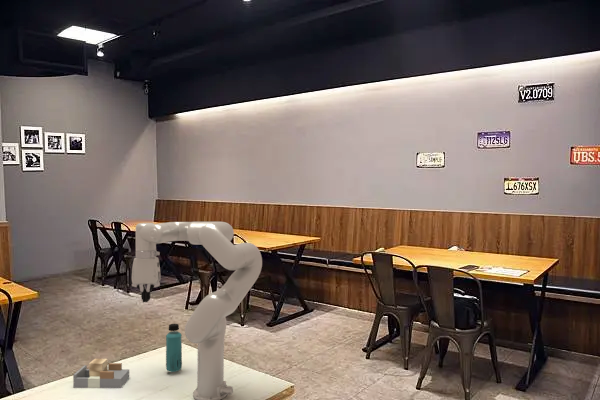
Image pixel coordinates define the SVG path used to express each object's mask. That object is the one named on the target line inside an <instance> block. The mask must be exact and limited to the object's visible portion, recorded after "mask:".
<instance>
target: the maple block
mask: <svg viewBox="0 0 600 400" xmlns="http://www.w3.org/2000/svg"><path fill="white" fill-rule="evenodd" d="M108 360H109V359H108V358H94V359H93V360H91V361H90V362H89V363H88V369H89V376H100V372H101V371H108V364H109V361H108Z"/></svg>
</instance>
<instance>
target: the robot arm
mask: <svg viewBox="0 0 600 400" xmlns="http://www.w3.org/2000/svg"><path fill="white" fill-rule="evenodd" d="M234 232H235V231H234V228H233V226H232V225H231V224H229V223H228V222H225V221H169V222H160V223H153V222H141V223H140V222H139V223H137V224H136V225H135V257H134V258H133V262H132V267H131V287H134V288H137V290H139V291H140V293H141V295H140V296H141V300H142V303H148V302H149V301H150V300H151V291H152V290H153V289H154V288H158V287H160V286H161V282H160V281H161V267H160V259H159V257H157V256H160V253H161V252H160V251H157V244H162V243H168V242H175V241H176V242H178V241H181V242H182V241H184V242H185V241H187V242H189V244H191V245H201V246H203V248H205V250H206V251H207V252H208V253H209V254H210V255H211V256H212V257H213V258H214V259H215V260H216V261H217V262H218V264H219V265H221V267H223V268H224V269H226V270H228V271H234V272H232V273H231V275H230V276H229V277H228V279H227V280H226V282H225V283H224V284H223V286H222V287H221V288H219V289H218V290H216V291H213V292H210V293H209V294H207V295H206V296H204V298H202V300H201V301H200V302H199V304H198V305H197V306H196V308H195V309H194V310H193V312H192V314H191V315H190V317H189V318H188V320H187V321H186V323H185V325H184V335H185V337H186V339H187V340H188V341H189V342H191V343H193V344H197V372H196V373H197V379H196V380H197V381H196V382H197V386H196V388H195V389H194V390H193V393H192V397H193V398H194V400H222V399H225V398H226V397H227V395H233V393H234V389H233V388H234V387H233V386H230V385H227V381H226V380H224V376H225V374H224V373H225V372H224V370H225V369H224V368H225V366H224V365H225V364H224V363H225V362H224V361H225V360H224V357H225V354H224V353H225V336H226V330H227V318H226V317H228V316H230V315H231V314H233V313H235V311H236V310H237V308H238V306H240V303H241V302H242V301H243V300H244V298H245V297H246V295H248V292H249V291H250V290H251V289H252V287H253V286H254V284H255V283H256V282H257V280H258V278H259V276H260V275H261V271H262V269H263V268H262V267H263V257H262V254H261V251H260V250H259V247H257V246H256V244H254V243H251V242H241V243H237V244H233V243H232V242H231V241H232V240H233V237H234V234H235V233H234Z"/></svg>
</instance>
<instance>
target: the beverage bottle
mask: <svg viewBox="0 0 600 400" xmlns="http://www.w3.org/2000/svg"><path fill="white" fill-rule="evenodd" d="M179 329H180V327H179V323H171V324H169V325H168V331H169V332H168V333H167V334H166V336H165V338H166V342H165V343H166V345H165V346H166V347H165V350H166V351H165V369H166V371H168V372H172V373H173V372H178V371H181V369H182V367H183V366H182V365H183V362H182V361H183V358H182V352H183V351H182V350H183V349H182V348H183V347H182V345H183V343H182V333H181V332H180V331H178V330H179Z"/></svg>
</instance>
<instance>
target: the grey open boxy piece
mask: <svg viewBox="0 0 600 400" xmlns="http://www.w3.org/2000/svg"><path fill="white" fill-rule="evenodd" d="M87 366H88V365H85V364H84V365H83V366H81V368H79V369H78V370H77V371H76V372H75V373H73V376H72V377H73V379H72V380H73V385H72V387H73V388H74V389H75V388H76V389H77V388H81V389H82V388H85V389H88V388H89V389H90V388H91V389H96V388H97V389H101V388H102V389H107V388H108V389H121V388H122V387H123V386H124V385H125V384H126V383H127V382H128V380H129V379H130V369H123V364H122V363H120V362H113V363H112V362H108V371H101V372H100V376H89V368H88V367H87Z"/></svg>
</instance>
